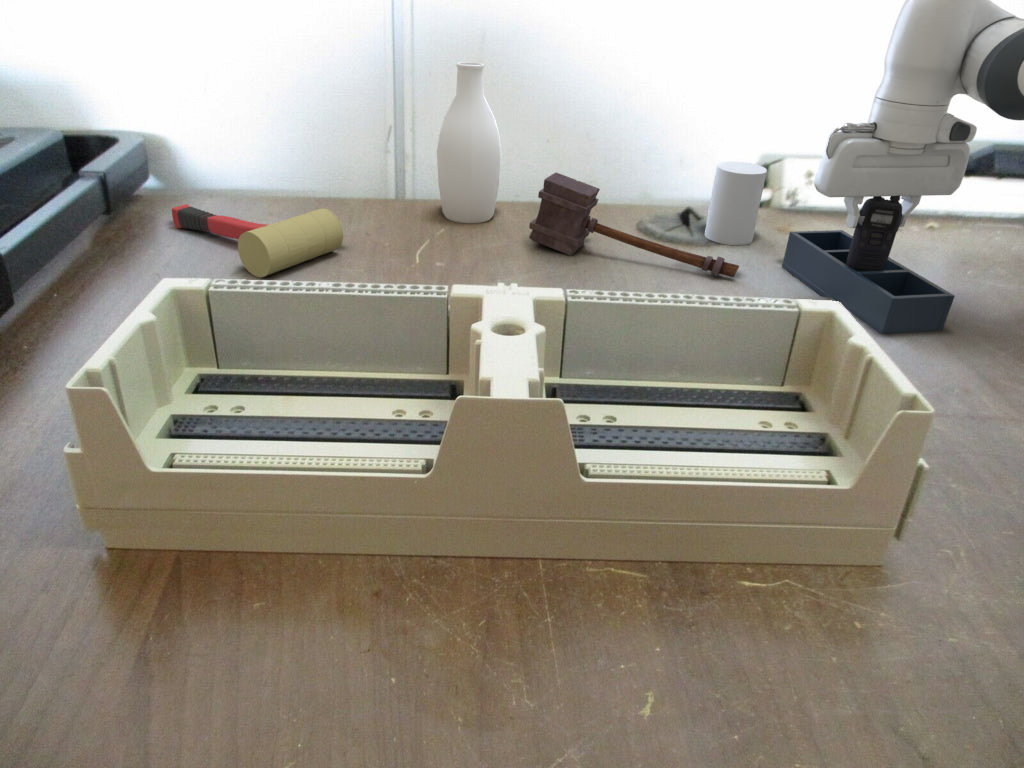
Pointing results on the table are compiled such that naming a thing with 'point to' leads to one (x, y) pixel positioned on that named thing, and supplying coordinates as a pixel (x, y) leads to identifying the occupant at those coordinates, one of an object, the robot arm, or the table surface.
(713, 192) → the white cylinder
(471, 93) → the bottle
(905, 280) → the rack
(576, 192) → the hammer
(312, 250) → the mallet
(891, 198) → the two-way radio
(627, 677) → the table surface
